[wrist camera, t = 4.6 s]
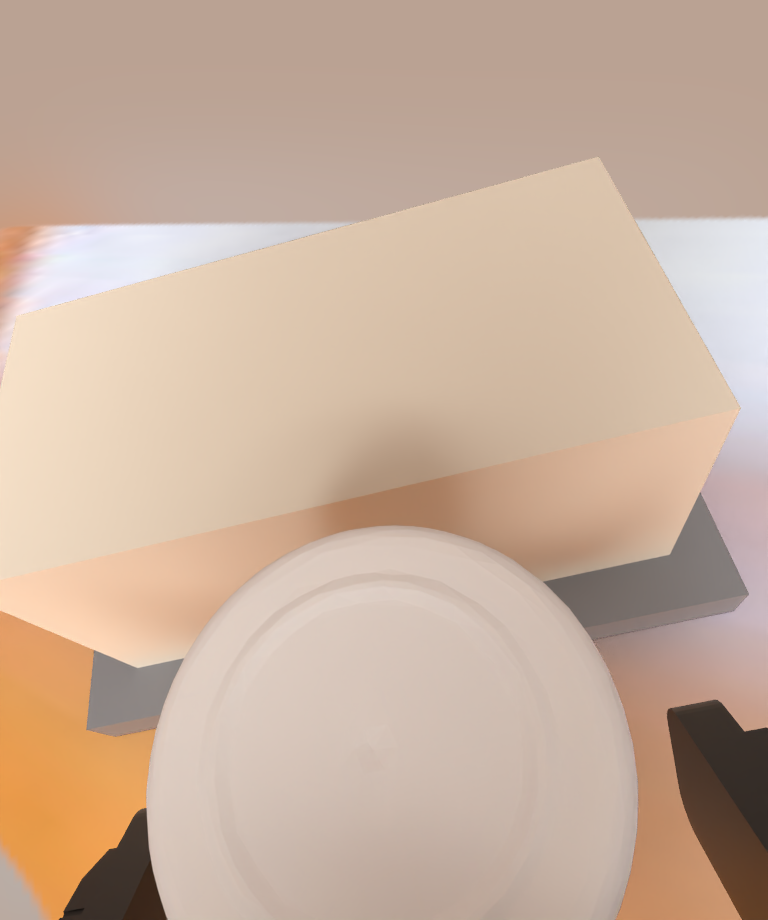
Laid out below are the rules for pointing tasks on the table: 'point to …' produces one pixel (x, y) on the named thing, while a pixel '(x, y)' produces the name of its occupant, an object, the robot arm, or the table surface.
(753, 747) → the robot arm
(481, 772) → the sprinkles bottle
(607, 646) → the table surface
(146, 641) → the cream and grey block
